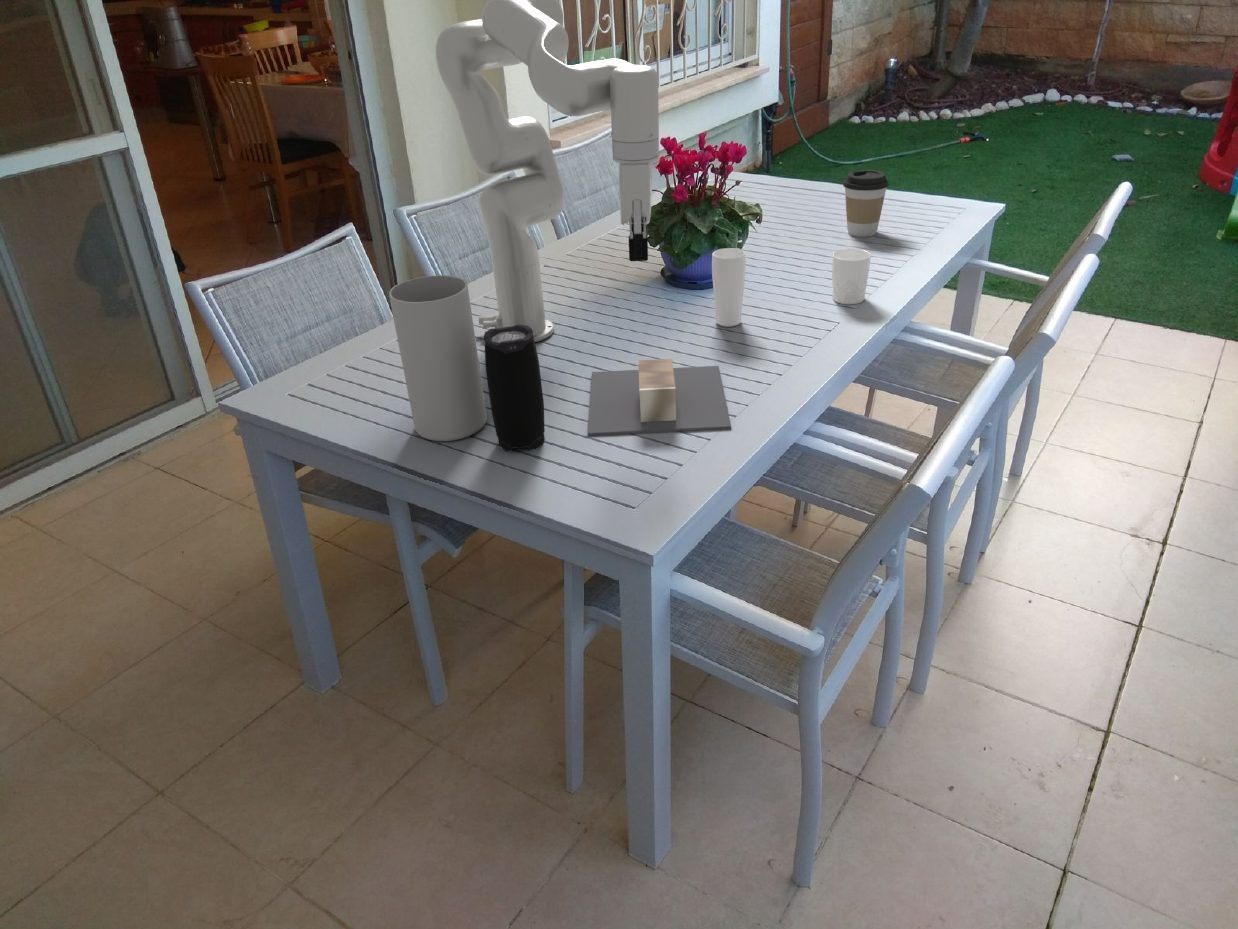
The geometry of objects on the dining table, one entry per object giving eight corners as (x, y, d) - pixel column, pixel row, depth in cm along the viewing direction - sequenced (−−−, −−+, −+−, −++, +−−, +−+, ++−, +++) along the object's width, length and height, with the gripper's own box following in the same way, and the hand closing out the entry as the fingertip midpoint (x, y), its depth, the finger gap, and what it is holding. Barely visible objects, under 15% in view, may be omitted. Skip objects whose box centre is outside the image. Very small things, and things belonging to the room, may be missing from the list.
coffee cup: (858, 223, 248) (862, 166, 241) (893, 231, 241) (899, 172, 233) (830, 233, 242) (833, 175, 235) (866, 242, 235) (871, 182, 227)
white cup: (829, 305, 200) (831, 259, 195) (830, 292, 206) (833, 248, 201) (866, 306, 198) (870, 260, 193) (867, 293, 205) (871, 248, 200)
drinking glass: (743, 329, 191) (744, 258, 183) (710, 328, 192) (710, 258, 185) (746, 317, 197) (747, 247, 189) (714, 316, 198) (713, 247, 190)
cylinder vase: (502, 421, 162) (483, 284, 149) (446, 450, 154) (421, 308, 142) (456, 402, 170) (434, 270, 157) (400, 429, 162) (373, 292, 149)
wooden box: (639, 390, 168) (641, 422, 158) (638, 360, 165) (639, 390, 155) (673, 389, 168) (676, 420, 158) (672, 358, 165) (675, 388, 155)
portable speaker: (542, 425, 160) (530, 318, 150) (551, 451, 152) (540, 340, 142) (492, 433, 159) (478, 325, 149) (499, 459, 151) (484, 348, 141)
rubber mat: (587, 435, 156) (587, 433, 156) (591, 374, 177) (591, 372, 176) (731, 428, 155) (731, 426, 155) (718, 368, 176) (718, 365, 176)
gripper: (613, 139, 156) (617, 245, 166) (611, 161, 143) (615, 275, 153) (658, 137, 156) (659, 244, 165) (660, 160, 143) (661, 274, 153)
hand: (638, 259), depth 159 cm, fingers closed
